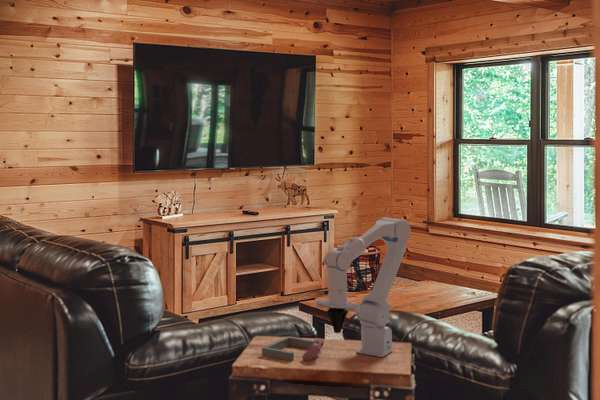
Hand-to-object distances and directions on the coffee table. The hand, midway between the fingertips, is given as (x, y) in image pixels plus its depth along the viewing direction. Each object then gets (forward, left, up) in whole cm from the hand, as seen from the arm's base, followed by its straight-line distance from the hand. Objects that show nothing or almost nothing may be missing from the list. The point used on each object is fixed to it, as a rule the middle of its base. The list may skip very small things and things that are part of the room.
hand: (337, 332), depth 229 cm
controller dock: (+18, 0, -9) cm, 20 cm away
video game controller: (+8, 0, -9) cm, 13 cm away
